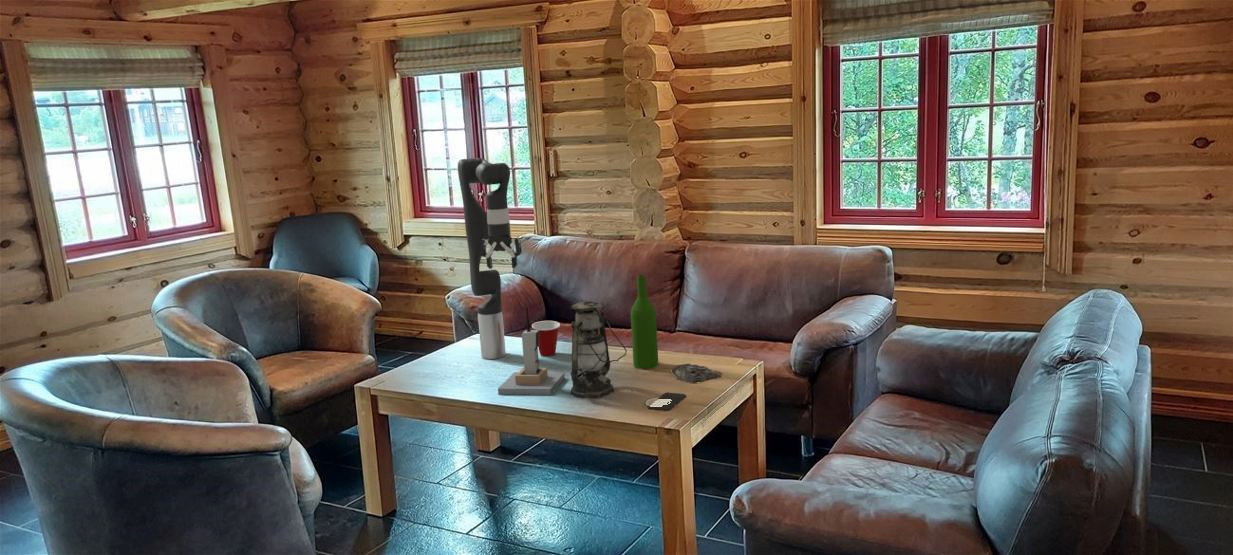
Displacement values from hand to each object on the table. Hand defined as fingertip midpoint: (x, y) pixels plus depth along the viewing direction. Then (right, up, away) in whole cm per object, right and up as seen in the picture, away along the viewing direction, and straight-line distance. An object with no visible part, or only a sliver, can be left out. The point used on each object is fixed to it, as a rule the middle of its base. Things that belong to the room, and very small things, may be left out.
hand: (502, 268), depth 309 cm
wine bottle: (+50, -35, +7) cm, 61 cm away
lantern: (+34, -41, -19) cm, 56 cm away
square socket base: (+11, -40, -9) cm, 42 cm away
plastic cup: (+14, -33, +29) cm, 46 cm away
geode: (+65, -37, -7) cm, 75 cm away
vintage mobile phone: (+12, -38, -8) cm, 41 cm away
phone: (+55, -43, -33) cm, 77 cm away
